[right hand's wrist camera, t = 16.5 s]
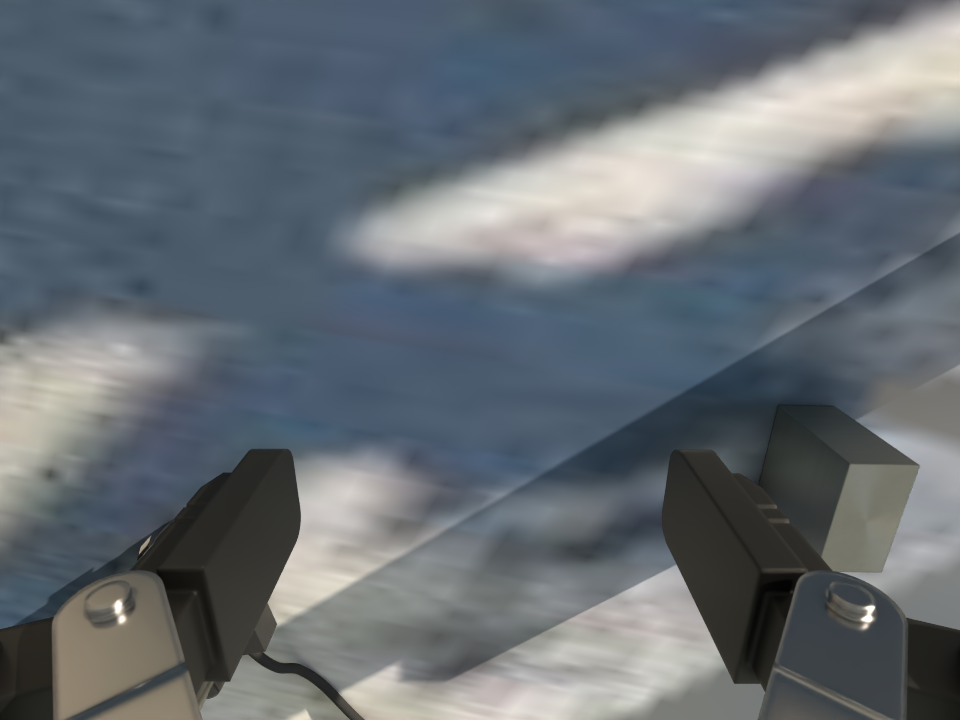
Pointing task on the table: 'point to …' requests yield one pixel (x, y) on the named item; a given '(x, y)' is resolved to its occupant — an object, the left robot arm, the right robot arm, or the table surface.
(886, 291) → the table surface
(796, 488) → the block
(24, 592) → the table surface
